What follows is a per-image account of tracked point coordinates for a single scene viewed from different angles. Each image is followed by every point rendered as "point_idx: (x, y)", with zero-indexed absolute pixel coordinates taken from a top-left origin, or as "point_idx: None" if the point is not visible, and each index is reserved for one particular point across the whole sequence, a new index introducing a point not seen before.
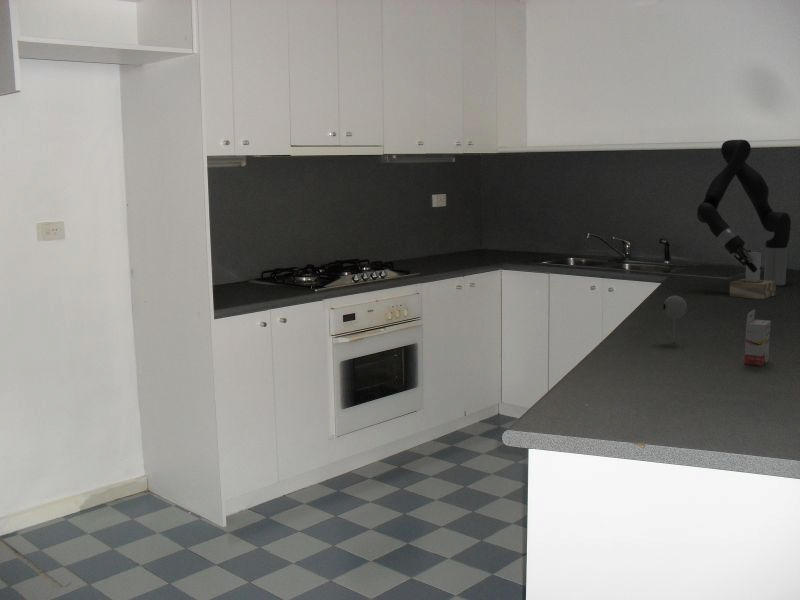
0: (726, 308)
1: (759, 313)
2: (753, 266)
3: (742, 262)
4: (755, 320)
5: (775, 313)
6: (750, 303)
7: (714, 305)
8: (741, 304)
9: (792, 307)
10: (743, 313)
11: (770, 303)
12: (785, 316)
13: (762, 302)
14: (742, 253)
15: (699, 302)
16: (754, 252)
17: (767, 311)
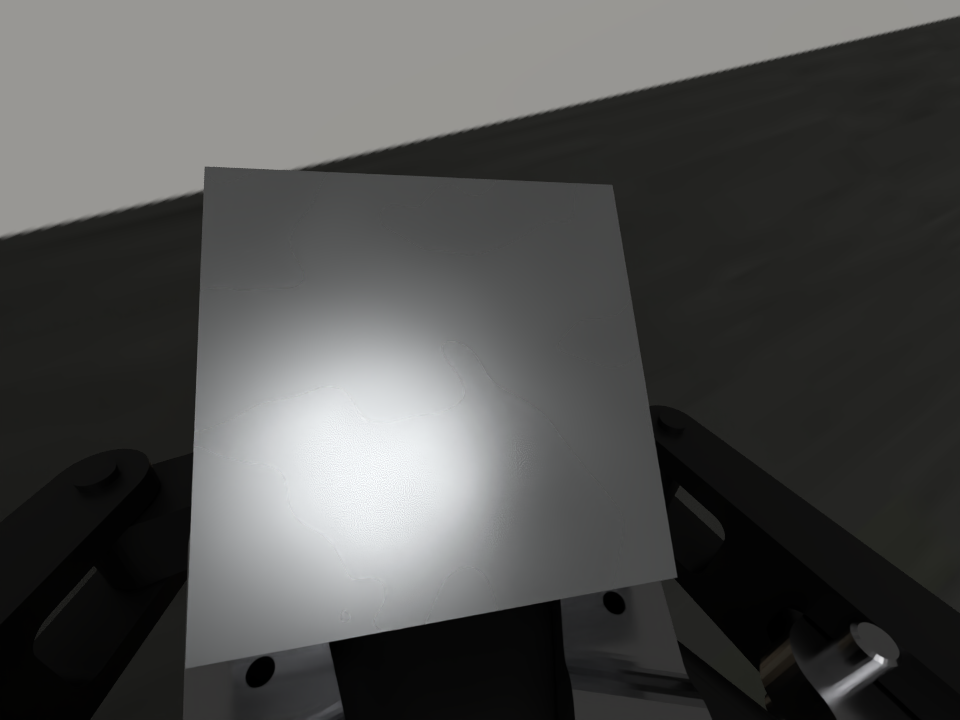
0: (915, 323)
1: (905, 159)
2: None
3: (676, 519)
4: None
5: (860, 107)
6: (712, 293)
7: (895, 416)
8: (773, 318)
9: (678, 85)
10: (951, 211)
11: (638, 207)
12: (884, 61)
13: (636, 254)
14: (738, 703)
15: (881, 543)
16: (423, 362)
17: (846, 147)
